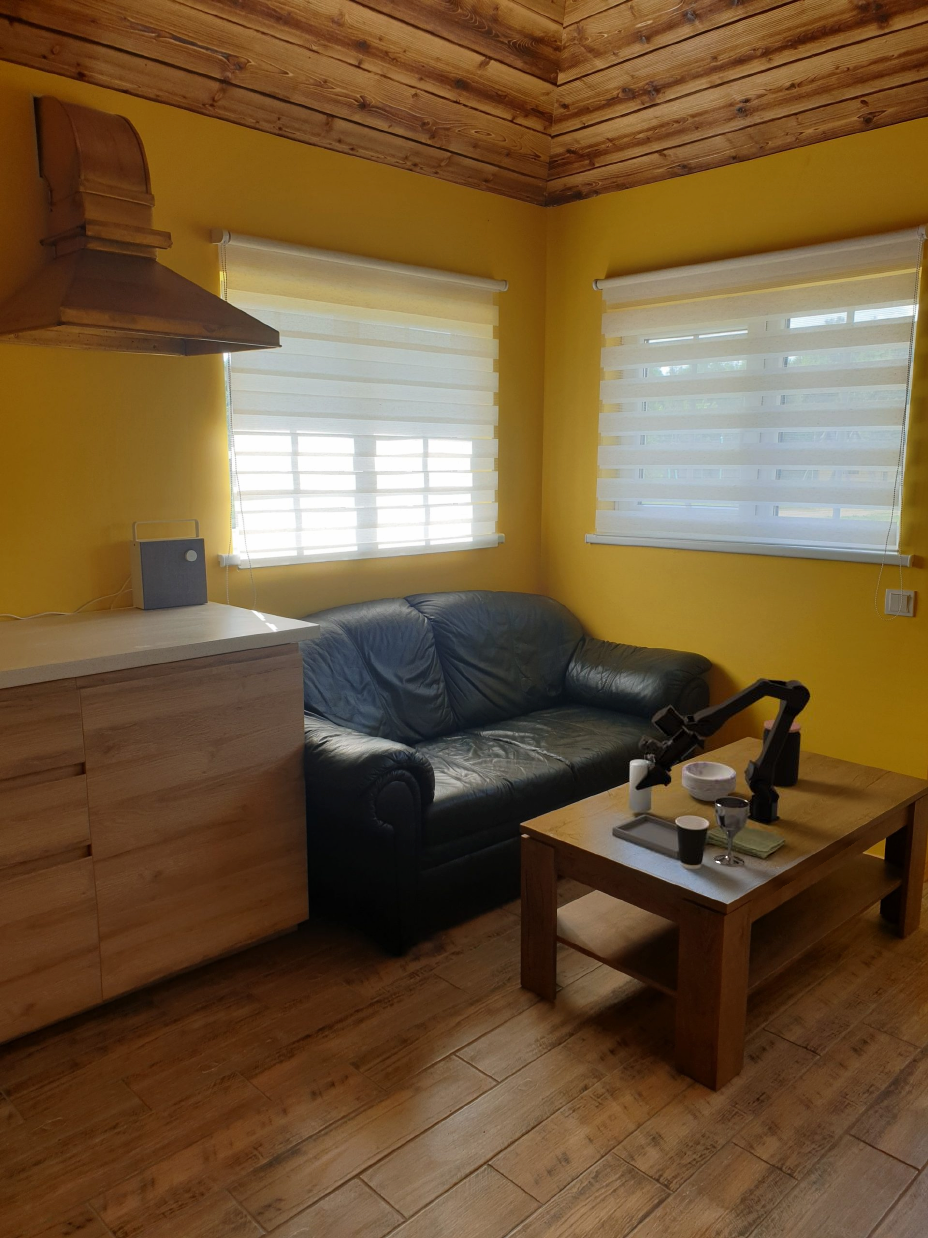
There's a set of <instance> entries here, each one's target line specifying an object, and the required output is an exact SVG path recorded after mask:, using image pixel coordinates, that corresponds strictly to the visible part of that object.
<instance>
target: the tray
mask: <svg viewBox="0 0 928 1238" xmlns="http://www.w3.org/2000/svg"><path fill="white" fill-rule="evenodd" d="M611 835H612V836H613V837H617V838H619V839H622V840H624V841H627V842H630V843H632V844H635V845H637V844H638V846H641V847H643V848H646V849H648V850H651V851H653V852H655V853H658V854H660V855H661V854H662V855H664V856H666V855H667V857H669V858H672V859H674V860H675V859H676V860H679V848H678V835H677V824H676V823H674V822H673V823H672V822H669V821H668V820H664V819H661V818H658V817H656V816H653V815H649V814H647V813H644V814H642V815H639V816H637V817H635V818H632V819H630V820H627V821H625V822H623V823H621V824H618V825H616V826H614V827H612V834H611ZM708 840H709V836H708V835H707V836H706V842H705V846H706V845H708V844H710V843H709V842H708Z"/></svg>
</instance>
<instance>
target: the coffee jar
mask: <svg viewBox="0 0 928 1238" xmlns="http://www.w3.org/2000/svg"><path fill="white" fill-rule="evenodd" d="M774 721H775V719H770V720H765V721H764V723H763V726H764V730H763V732H762V733H763V734H762V735H763V737H762V748H763V747H764V745H765V742H766V740H767V738H768V735H769V733H770V731H771V728H772V726H773V723H774ZM801 730H802V725H801V724H800V723H799V722H795V721H793V724H792V726H791V728H790V730H789V733H788V735H787V737H786V740H785V742H784V744H783V747H782V749H781V751H780V754H779V756H778V758H777V761H776V763H775V766H774V778H773V782H772V785H773V786H774V787H781V788H785V787H786V788H790V787H793V786H796V783H798V780H799V773H800V772H799V771H800V769H799V767H800V755H801V740H802V739H801V738H802V737H801V736H802V735H801V732H800V731H801Z"/></svg>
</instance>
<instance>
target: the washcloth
mask: <svg viewBox="0 0 928 1238" xmlns="http://www.w3.org/2000/svg"><path fill="white" fill-rule="evenodd" d="M707 835H708V836H709V840H708V842H709V843H708V844H712V845H715V846H717V847H720V848H724V849H726V850H728V840H727V836H726V834H725V833H724V832H723V830H722V829H721V828H720V827H719V825H718V824H717V825H716V826H715V827H714V828H711V829H709V830H707ZM785 843H786V839H785V838H783V836H781V835H778V834H776V833H773V832H770V831H767V830H763V829H759V828H754V827H750V826H747V825H745V827H744V828H743V829H742V830H741V831H740V832H738V833H737V834H736V835H735V837H734V839H733V842H732V848H731V851H735V852H739V853H743V854H747V855H751V856H754V857H756V858H760V859H764V860H765V859H766V857H768V856H769V855H770V854H771V853H773V852H775V851H777V850H778V849H779V848H781V847H782V846H783V845H784V844H785Z"/></svg>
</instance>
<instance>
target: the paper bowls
mask: <svg viewBox="0 0 928 1238" xmlns="http://www.w3.org/2000/svg"><path fill="white" fill-rule="evenodd" d="M681 773H682V775H681V785H682V786H683V788H684V789H686V790H688V792H689V794H690V796H692V797H693V798H695V799H697V800H701V801H706V802H715V800H716V799H717V798H719V797H724V796H729V794H731V793H734V792H735V790H736V788H737V787H736V786H737V772H736V770H735V769H734V768H732V767H730V766H728V765H726V764H723V763H719V762H714V761H713V762H711V761H695V762H694V761H692V762H690V763H687V764H685V765H684V766H683V767H682V771H681Z"/></svg>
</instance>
